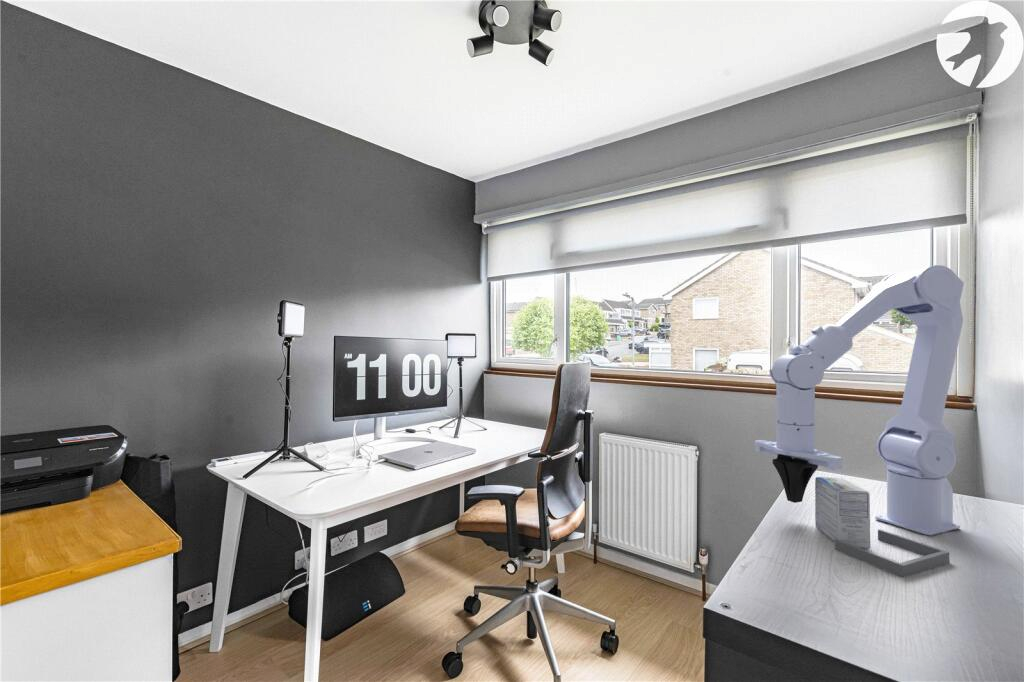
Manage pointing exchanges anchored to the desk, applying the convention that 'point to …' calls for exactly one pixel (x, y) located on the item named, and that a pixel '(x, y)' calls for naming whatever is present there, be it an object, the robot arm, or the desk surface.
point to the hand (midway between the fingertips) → (794, 501)
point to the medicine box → (842, 511)
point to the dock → (928, 561)
